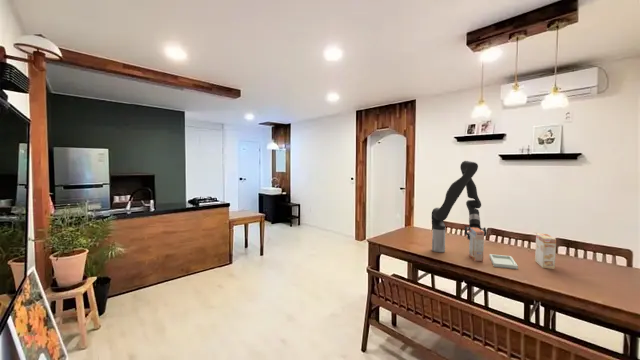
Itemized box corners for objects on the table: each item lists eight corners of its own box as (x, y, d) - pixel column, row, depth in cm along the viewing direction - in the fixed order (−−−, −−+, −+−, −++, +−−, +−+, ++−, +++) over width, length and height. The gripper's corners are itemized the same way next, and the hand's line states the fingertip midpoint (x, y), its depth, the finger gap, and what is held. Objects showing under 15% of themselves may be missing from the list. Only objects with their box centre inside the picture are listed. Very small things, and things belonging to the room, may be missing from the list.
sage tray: (493, 266, 196) (493, 263, 196) (489, 256, 216) (489, 253, 216) (517, 269, 191) (518, 265, 191) (511, 259, 211) (511, 256, 211)
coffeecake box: (555, 269, 191) (556, 239, 190) (542, 267, 194) (543, 238, 192) (546, 261, 205) (548, 233, 204) (534, 260, 208) (535, 233, 206)
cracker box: (483, 261, 206) (484, 231, 204) (474, 261, 207) (475, 231, 206) (477, 255, 219) (478, 227, 218) (468, 255, 221) (469, 227, 219)
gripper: (464, 217, 227) (465, 236, 217) (485, 219, 222) (487, 238, 212) (463, 223, 232) (464, 241, 223) (484, 224, 227) (486, 243, 217)
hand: (475, 239), depth 217 cm, fingers open, 8 cm apart
